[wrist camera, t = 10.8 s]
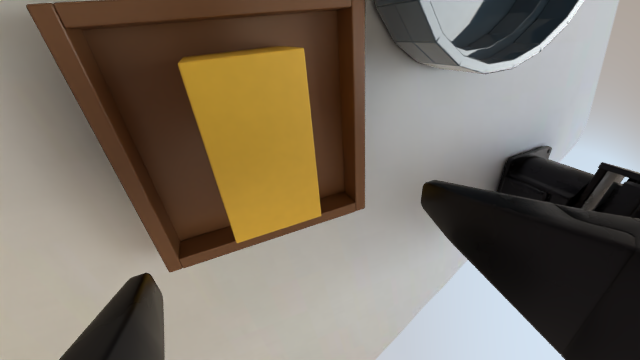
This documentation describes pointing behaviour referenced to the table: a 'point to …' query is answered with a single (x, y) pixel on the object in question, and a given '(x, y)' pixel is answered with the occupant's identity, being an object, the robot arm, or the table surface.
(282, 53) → the block
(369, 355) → the table surface
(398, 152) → the table surface
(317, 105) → the tray
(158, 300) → the robot arm
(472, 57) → the bowl
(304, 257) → the table surface
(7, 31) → the table surface
